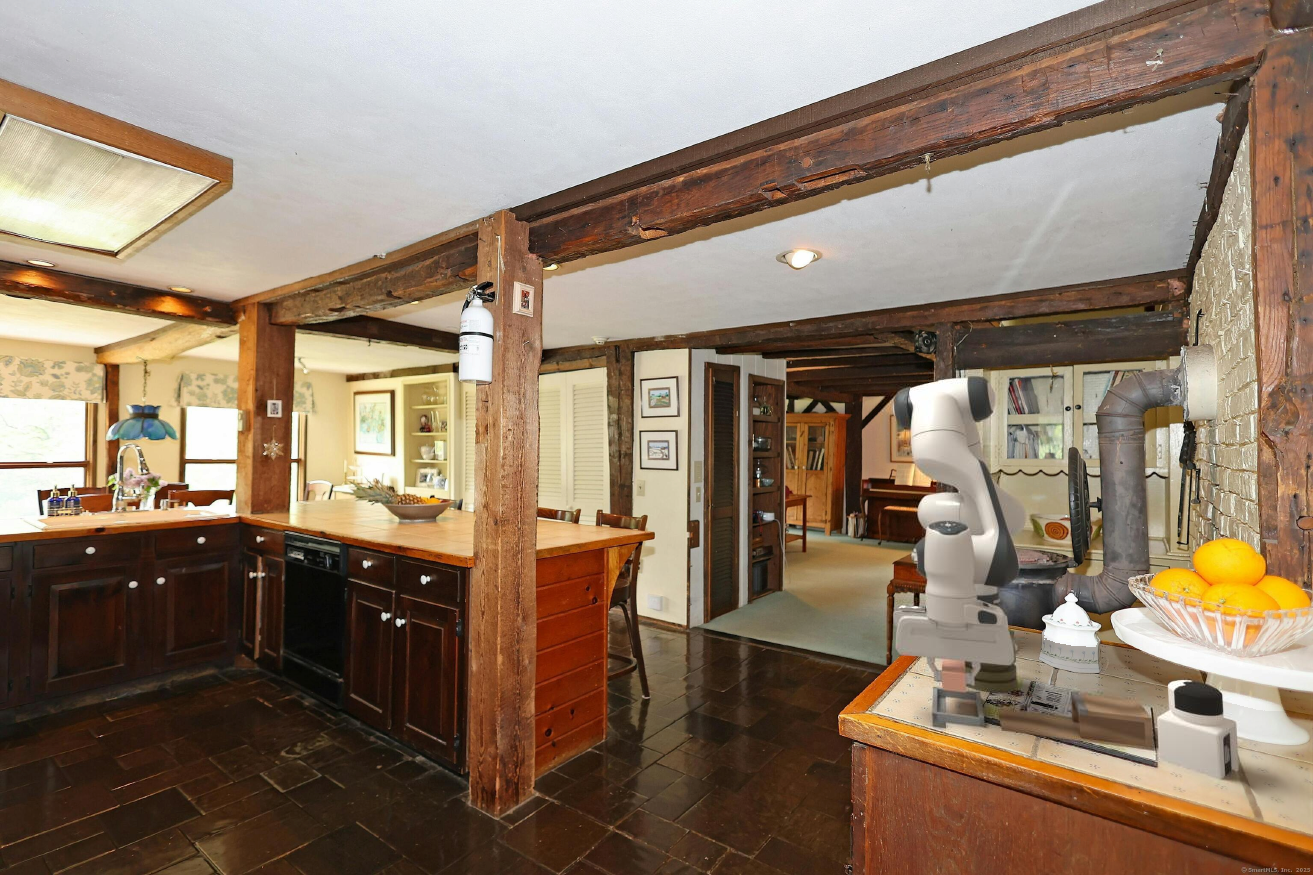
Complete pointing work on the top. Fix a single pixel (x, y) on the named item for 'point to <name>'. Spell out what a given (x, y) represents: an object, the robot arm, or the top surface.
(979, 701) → the tray
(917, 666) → the top surface
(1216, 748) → the container
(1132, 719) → the brown slab
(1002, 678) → the piston
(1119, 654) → the top surface
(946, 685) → the salmon pink rectangular prism
